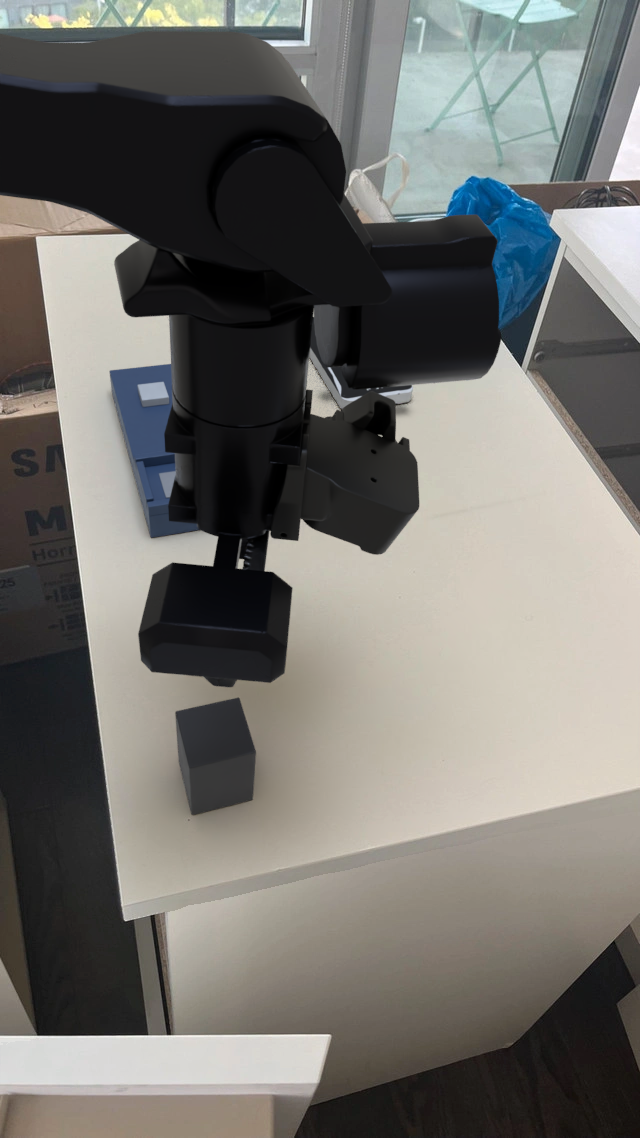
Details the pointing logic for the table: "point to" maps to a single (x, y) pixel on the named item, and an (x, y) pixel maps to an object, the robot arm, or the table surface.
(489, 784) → the table surface
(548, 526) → the table surface
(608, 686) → the table surface
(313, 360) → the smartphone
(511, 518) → the table surface
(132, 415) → the blue long open box
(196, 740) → the block
